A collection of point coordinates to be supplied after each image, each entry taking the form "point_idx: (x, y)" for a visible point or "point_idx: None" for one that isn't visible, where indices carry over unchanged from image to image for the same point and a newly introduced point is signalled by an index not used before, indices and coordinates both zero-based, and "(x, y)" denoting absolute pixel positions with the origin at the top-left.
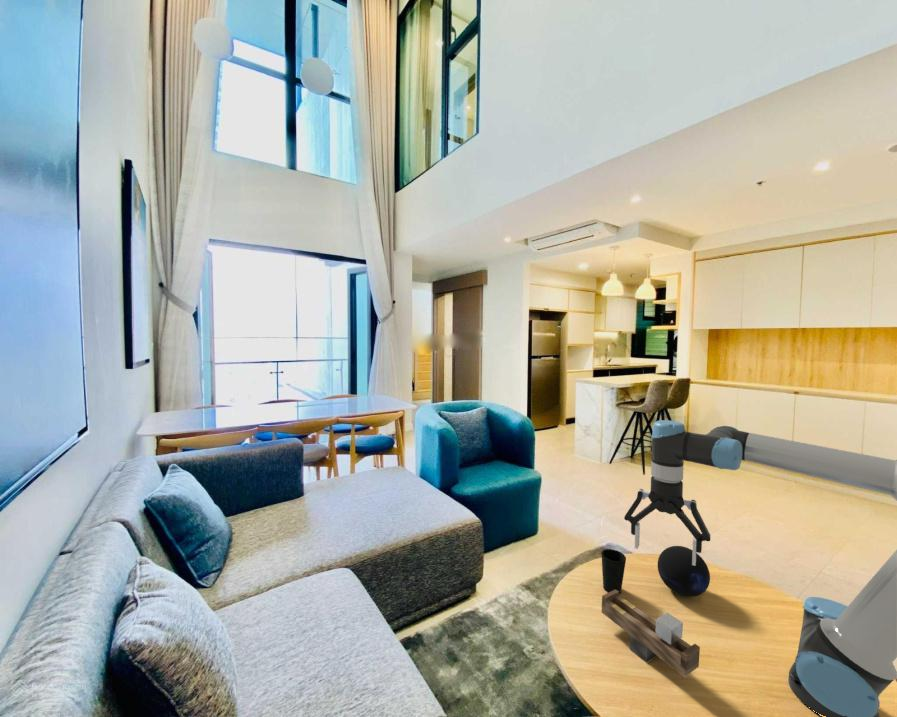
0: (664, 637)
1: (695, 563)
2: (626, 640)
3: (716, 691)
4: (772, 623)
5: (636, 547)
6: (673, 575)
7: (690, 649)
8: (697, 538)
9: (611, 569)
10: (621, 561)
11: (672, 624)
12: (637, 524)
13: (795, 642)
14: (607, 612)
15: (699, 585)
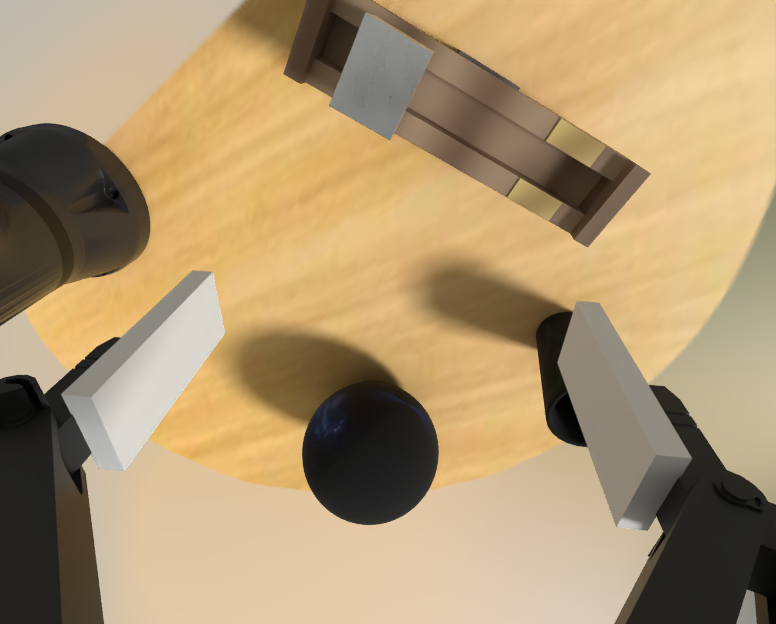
0: (399, 30)
1: (184, 278)
2: None
3: (274, 60)
4: (202, 383)
5: (588, 305)
6: (391, 414)
7: (309, 32)
8: (28, 423)
9: None
10: (565, 393)
11: (365, 61)
12: (655, 486)
13: None
14: (608, 146)
15: (326, 407)
